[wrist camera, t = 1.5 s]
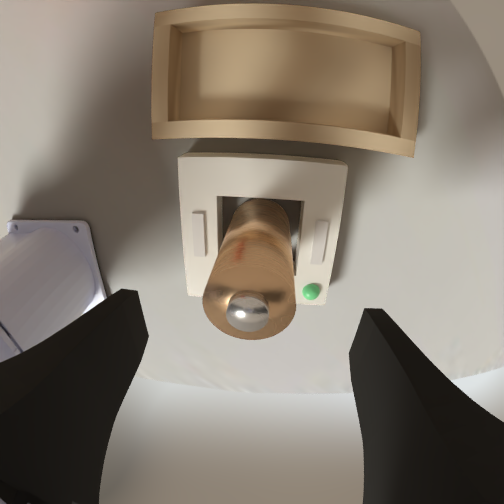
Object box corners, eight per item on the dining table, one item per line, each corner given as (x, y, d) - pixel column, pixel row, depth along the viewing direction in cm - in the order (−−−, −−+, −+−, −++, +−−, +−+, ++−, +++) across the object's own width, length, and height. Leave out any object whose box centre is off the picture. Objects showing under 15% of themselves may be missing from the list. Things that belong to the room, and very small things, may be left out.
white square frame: (194, 281, 18) (185, 300, 16) (186, 152, 14) (174, 159, 12) (321, 290, 17) (325, 310, 16) (341, 160, 14) (350, 168, 12)
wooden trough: (168, 134, 14) (151, 139, 12) (171, 23, 11) (155, 12, 9) (396, 150, 13) (413, 157, 11) (402, 39, 10) (420, 31, 8)
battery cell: (231, 249, 17) (202, 344, 10) (231, 196, 15) (195, 271, 9) (287, 253, 16) (290, 352, 10) (291, 200, 15) (303, 278, 8)
